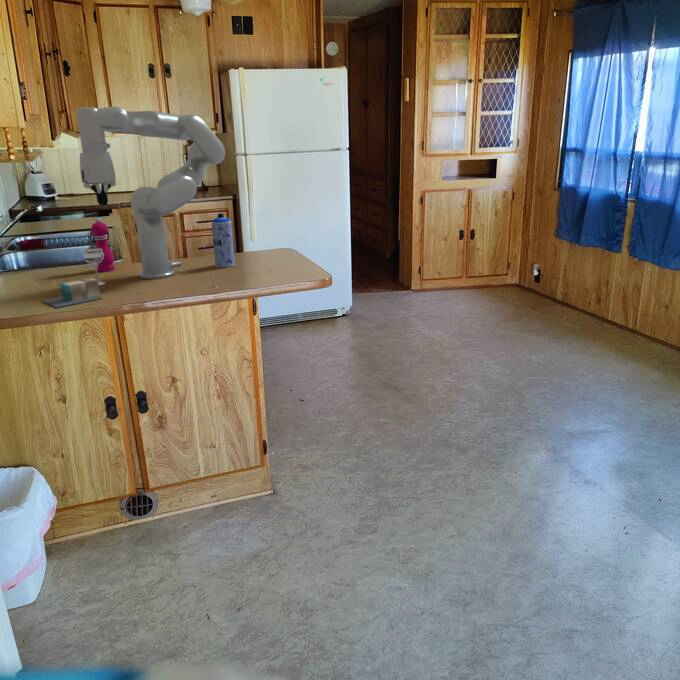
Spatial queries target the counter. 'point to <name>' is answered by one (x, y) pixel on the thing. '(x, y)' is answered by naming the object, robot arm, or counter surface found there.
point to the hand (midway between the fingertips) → (103, 205)
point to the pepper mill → (103, 246)
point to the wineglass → (94, 258)
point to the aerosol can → (223, 241)
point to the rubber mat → (61, 302)
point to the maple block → (80, 289)
